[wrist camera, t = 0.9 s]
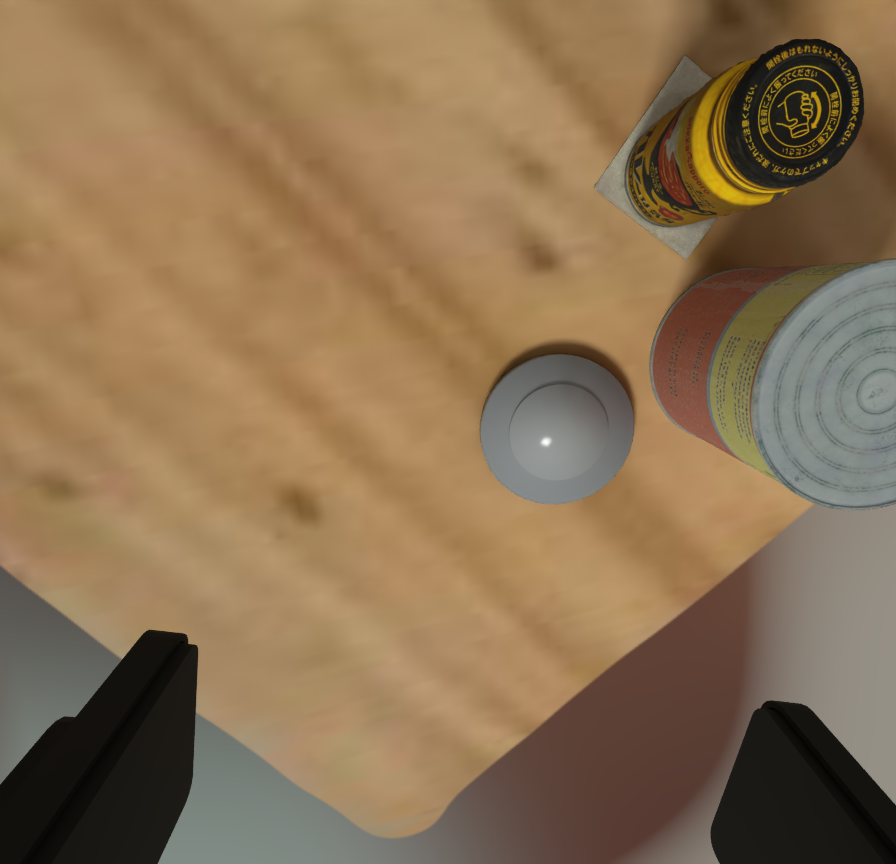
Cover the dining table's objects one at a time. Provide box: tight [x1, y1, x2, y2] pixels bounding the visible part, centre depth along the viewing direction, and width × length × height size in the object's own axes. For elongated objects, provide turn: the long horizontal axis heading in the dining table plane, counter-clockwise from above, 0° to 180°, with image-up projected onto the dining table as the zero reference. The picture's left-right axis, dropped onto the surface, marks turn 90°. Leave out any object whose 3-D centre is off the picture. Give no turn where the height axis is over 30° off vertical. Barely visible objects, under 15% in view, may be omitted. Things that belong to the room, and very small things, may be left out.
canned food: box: [650, 258, 896, 511], centre depth 30 cm, size 11×11×12 cm
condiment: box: [594, 39, 864, 260], centre depth 27 cm, size 7×8×12 cm
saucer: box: [480, 353, 634, 504], centre depth 36 cm, size 10×10×1 cm
